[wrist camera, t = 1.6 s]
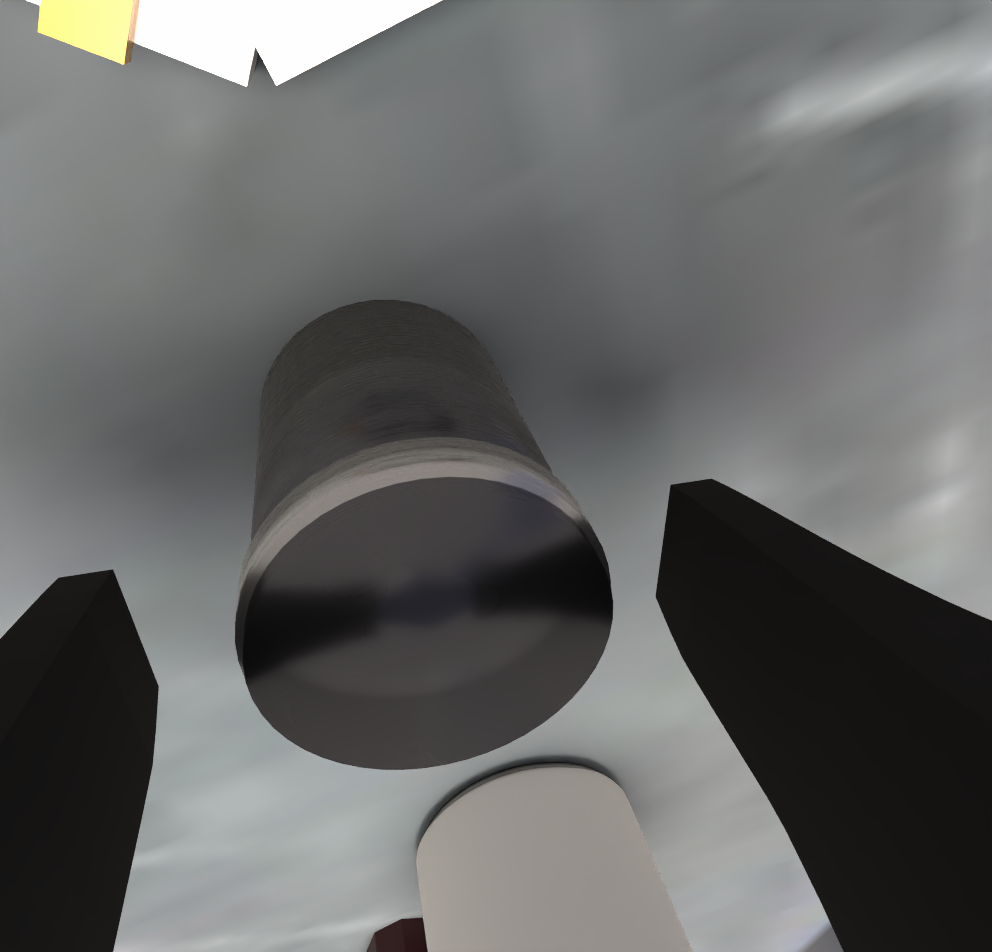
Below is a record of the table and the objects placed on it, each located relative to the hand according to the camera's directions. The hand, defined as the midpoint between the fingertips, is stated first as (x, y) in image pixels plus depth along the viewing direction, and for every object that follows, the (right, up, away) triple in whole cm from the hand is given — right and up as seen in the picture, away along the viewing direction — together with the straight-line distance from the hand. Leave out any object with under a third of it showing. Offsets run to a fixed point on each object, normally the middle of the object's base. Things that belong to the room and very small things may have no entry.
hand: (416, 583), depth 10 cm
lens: (-1, +3, +4) cm, 5 cm away
